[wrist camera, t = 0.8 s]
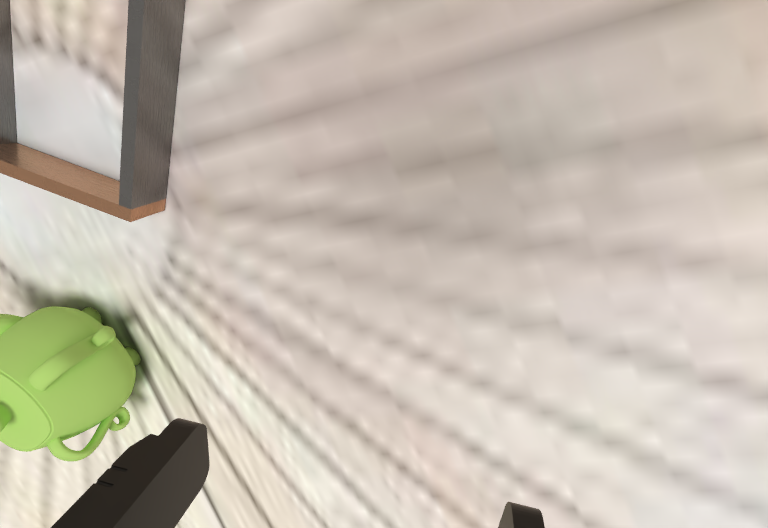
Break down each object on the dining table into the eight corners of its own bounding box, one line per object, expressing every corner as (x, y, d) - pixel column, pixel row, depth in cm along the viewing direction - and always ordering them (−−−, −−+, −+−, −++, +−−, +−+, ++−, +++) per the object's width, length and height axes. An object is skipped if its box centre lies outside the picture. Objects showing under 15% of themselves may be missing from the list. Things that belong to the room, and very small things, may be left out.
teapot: (39, 374, 52) (-82, 452, 41) (24, 276, 47) (-122, 333, 35) (154, 412, 51) (62, 503, 39) (153, 315, 45) (45, 388, 34)
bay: (-54, -193, 31) (-134, -239, 27) (238, -97, 30) (202, -129, 26) (-24, 139, 41) (-78, 143, 37) (196, 221, 40) (165, 235, 36)
